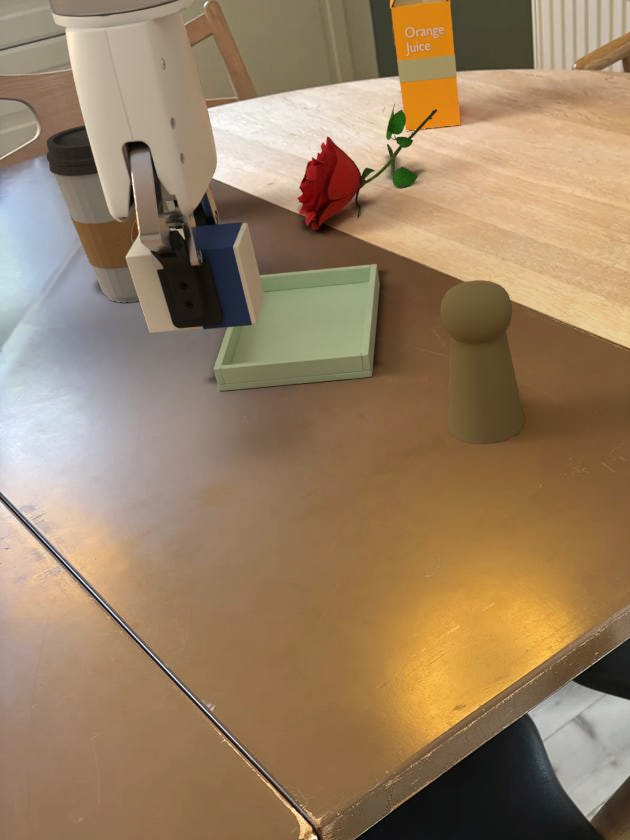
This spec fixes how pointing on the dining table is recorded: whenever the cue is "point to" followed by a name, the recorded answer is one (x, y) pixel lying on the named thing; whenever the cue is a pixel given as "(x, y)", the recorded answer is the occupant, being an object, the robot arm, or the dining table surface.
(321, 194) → the flower
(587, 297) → the dining table surface
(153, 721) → the dining table surface
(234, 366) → the tray
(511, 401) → the olive brown pawn figure
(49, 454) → the dining table surface
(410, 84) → the orange juice
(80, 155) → the coffee cup
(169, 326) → the eraser
